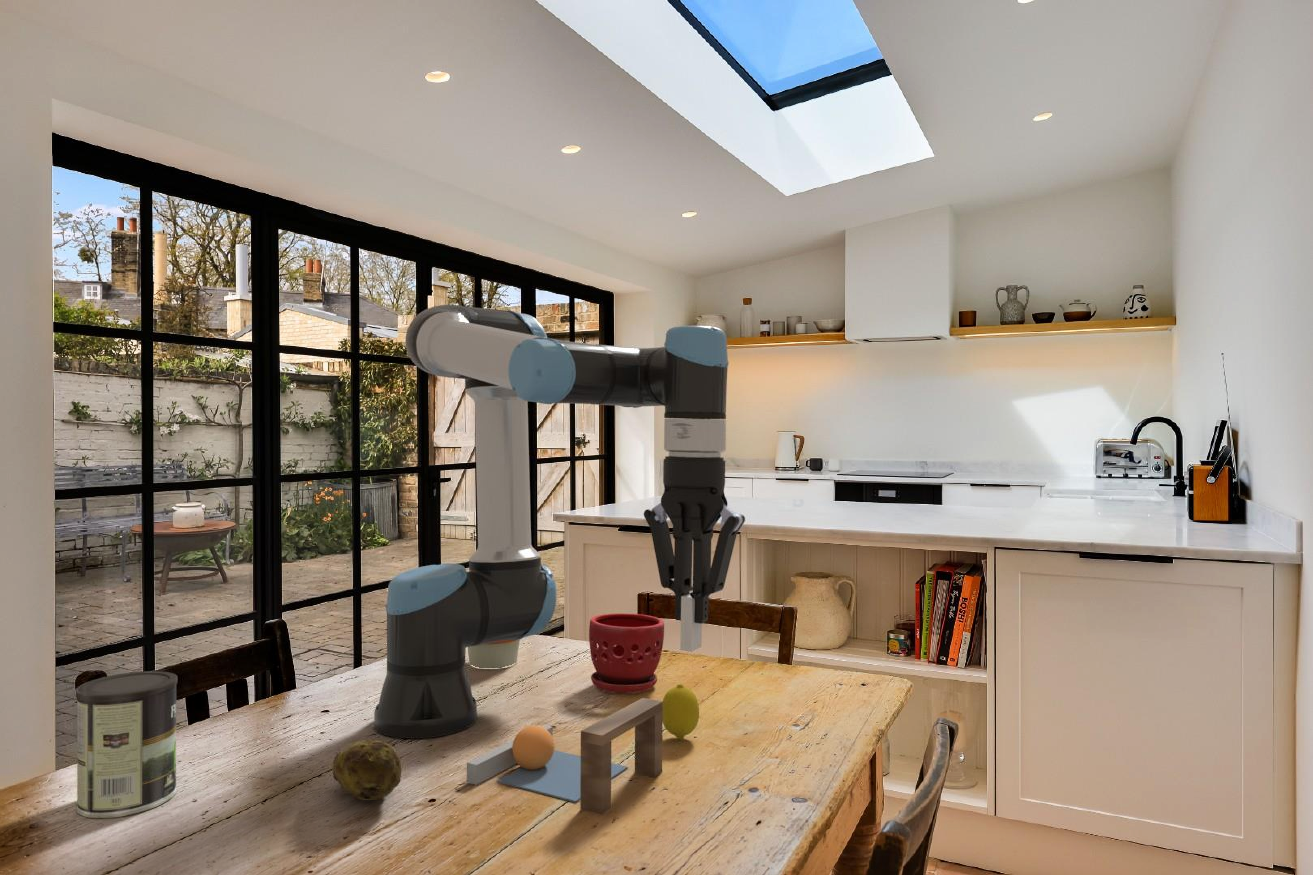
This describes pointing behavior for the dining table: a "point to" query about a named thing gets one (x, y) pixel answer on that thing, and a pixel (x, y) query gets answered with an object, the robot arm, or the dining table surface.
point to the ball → (533, 747)
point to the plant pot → (625, 651)
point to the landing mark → (555, 777)
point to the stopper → (493, 762)
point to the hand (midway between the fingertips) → (690, 648)
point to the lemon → (680, 711)
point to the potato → (368, 769)
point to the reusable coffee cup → (494, 654)
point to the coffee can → (126, 743)
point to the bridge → (598, 750)
